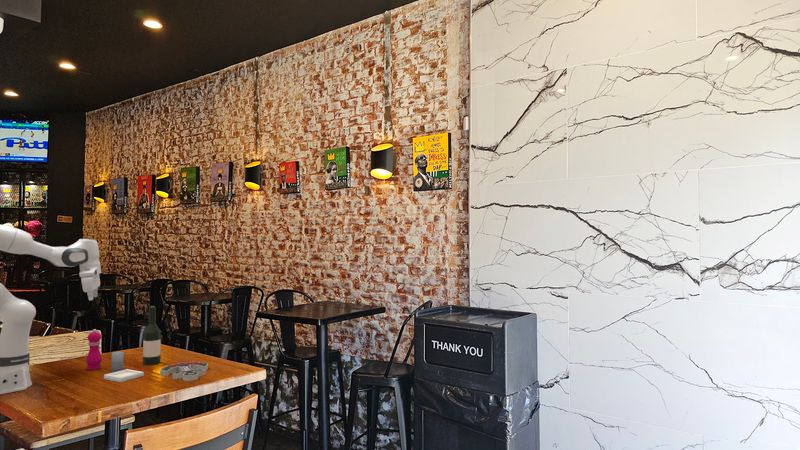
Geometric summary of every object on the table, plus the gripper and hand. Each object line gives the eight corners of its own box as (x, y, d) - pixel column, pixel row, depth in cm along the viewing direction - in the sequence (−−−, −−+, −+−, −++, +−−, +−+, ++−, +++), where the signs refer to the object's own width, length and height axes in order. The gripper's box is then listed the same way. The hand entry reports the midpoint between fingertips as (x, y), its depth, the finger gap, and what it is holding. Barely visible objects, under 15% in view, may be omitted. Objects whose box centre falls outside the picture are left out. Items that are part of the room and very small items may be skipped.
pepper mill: (96, 370, 262) (97, 330, 263) (82, 370, 262) (83, 330, 263) (105, 367, 269) (105, 327, 270) (91, 366, 269) (91, 327, 270)
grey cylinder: (115, 372, 259) (116, 354, 259) (109, 371, 261) (109, 353, 261) (125, 370, 263) (125, 352, 263) (118, 368, 266) (119, 351, 266)
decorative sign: (204, 359, 275) (216, 372, 250) (204, 365, 275) (216, 378, 250) (158, 364, 264) (166, 378, 238) (157, 370, 264) (166, 385, 238)
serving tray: (120, 382, 241) (120, 377, 241) (103, 379, 246) (103, 374, 246) (143, 376, 252) (143, 372, 252) (127, 373, 257) (127, 369, 257)
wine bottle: (143, 362, 279) (143, 305, 280) (160, 361, 283) (161, 304, 283) (142, 366, 272) (143, 307, 272) (160, 364, 275) (161, 306, 276)
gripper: (88, 269, 269) (90, 295, 270) (78, 274, 249) (81, 302, 250) (102, 267, 271) (104, 294, 272) (93, 272, 251) (96, 301, 252)
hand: (93, 298), depth 261 cm, fingers open, 8 cm apart
